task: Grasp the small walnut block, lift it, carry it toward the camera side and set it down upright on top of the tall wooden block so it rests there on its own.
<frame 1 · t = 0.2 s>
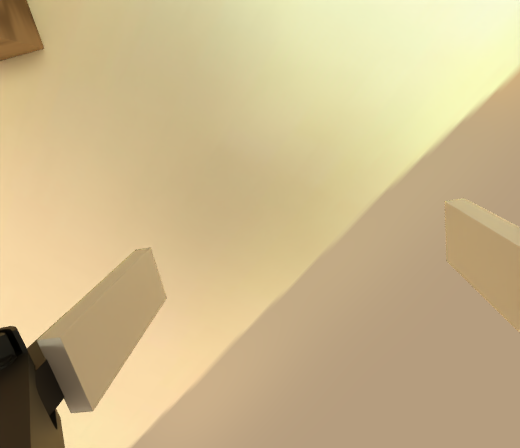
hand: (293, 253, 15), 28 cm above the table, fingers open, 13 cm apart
walnut block: (11, 26, 39), on the table
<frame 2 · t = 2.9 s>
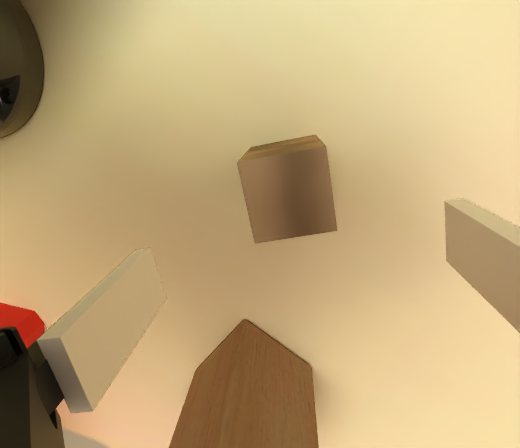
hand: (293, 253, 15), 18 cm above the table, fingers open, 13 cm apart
wooden block: (252, 366, 40), on the table
walnut block: (288, 173, 32), on the table
book: (14, 391, 45), on the table
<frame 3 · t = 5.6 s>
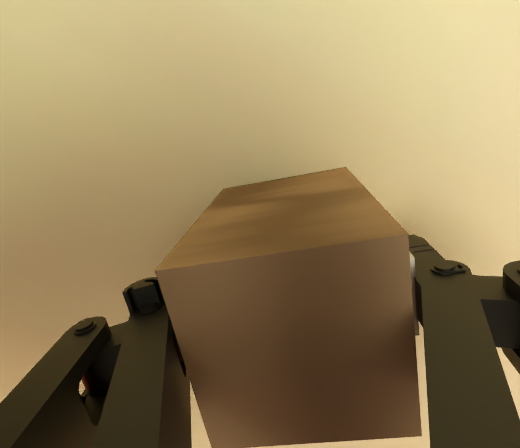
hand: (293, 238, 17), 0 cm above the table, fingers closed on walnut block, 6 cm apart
walnut block: (293, 235, 17), on the table, touching gripper
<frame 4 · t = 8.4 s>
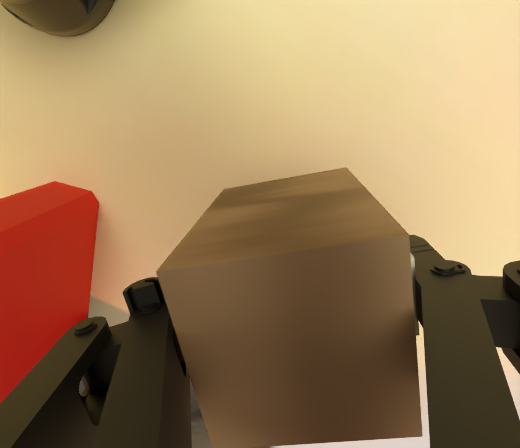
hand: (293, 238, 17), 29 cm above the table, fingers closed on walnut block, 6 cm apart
walnut block: (293, 235, 17), point 29 cm above the table, touching gripper
book: (67, 268, 53), on the table
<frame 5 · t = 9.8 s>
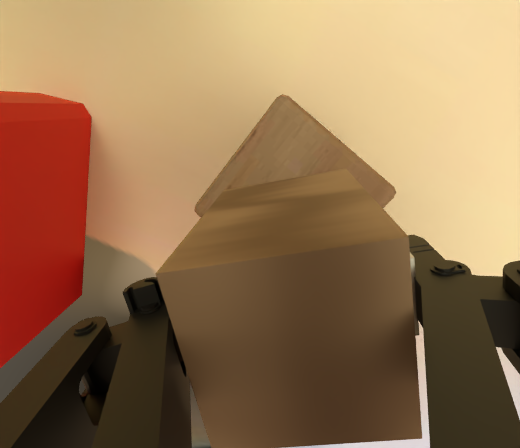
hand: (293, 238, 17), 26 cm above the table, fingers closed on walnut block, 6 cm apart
wooden block: (291, 159, 42), on the table
walnut block: (293, 236, 17), point 26 cm above the table, touching gripper
book: (58, 202, 46), on the table
when the fingers open (22 cm above the table, at t = 11.2 s): walnut block drops 1 cm, resting on wooden block.
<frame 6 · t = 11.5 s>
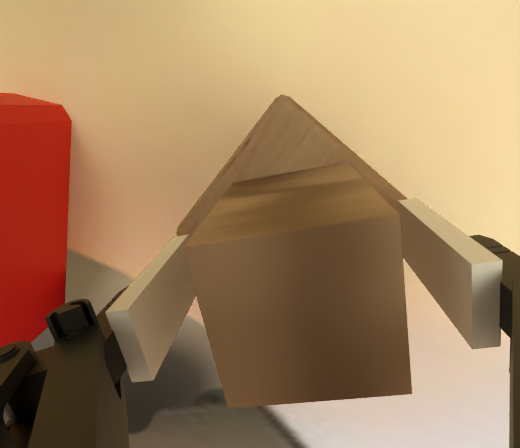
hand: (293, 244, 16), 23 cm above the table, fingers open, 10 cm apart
wooden block: (291, 166, 38), on the table, touching walnut block
walnut block: (297, 225, 19), point 20 cm above the table, touching wooden block
book: (37, 212, 42), on the table
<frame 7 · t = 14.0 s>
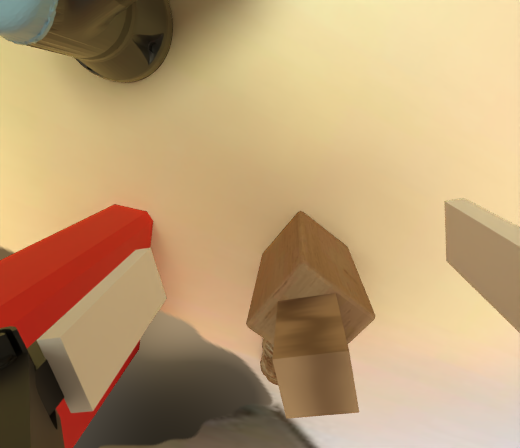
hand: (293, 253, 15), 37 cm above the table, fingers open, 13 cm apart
seashell: (283, 348, 61), on the table
wooden block: (304, 250, 55), on the table, touching walnut block
walnut block: (311, 321, 36), point 20 cm above the table, touching wooden block
book: (124, 280, 60), on the table
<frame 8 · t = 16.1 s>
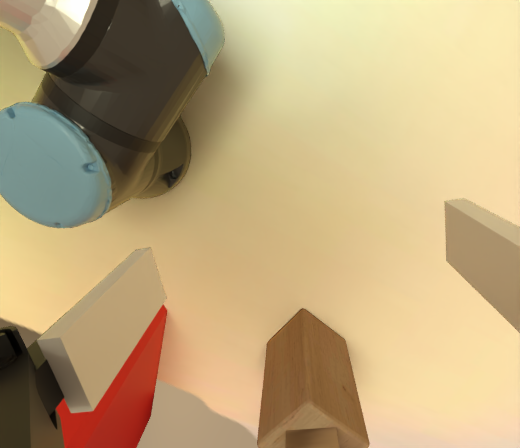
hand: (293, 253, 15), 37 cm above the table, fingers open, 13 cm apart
wooden block: (305, 340, 60), on the table, touching walnut block
walnut block: (314, 447, 41), point 20 cm above the table, touching wooden block
book: (138, 358, 65), on the table
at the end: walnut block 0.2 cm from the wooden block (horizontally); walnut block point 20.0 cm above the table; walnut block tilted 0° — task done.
